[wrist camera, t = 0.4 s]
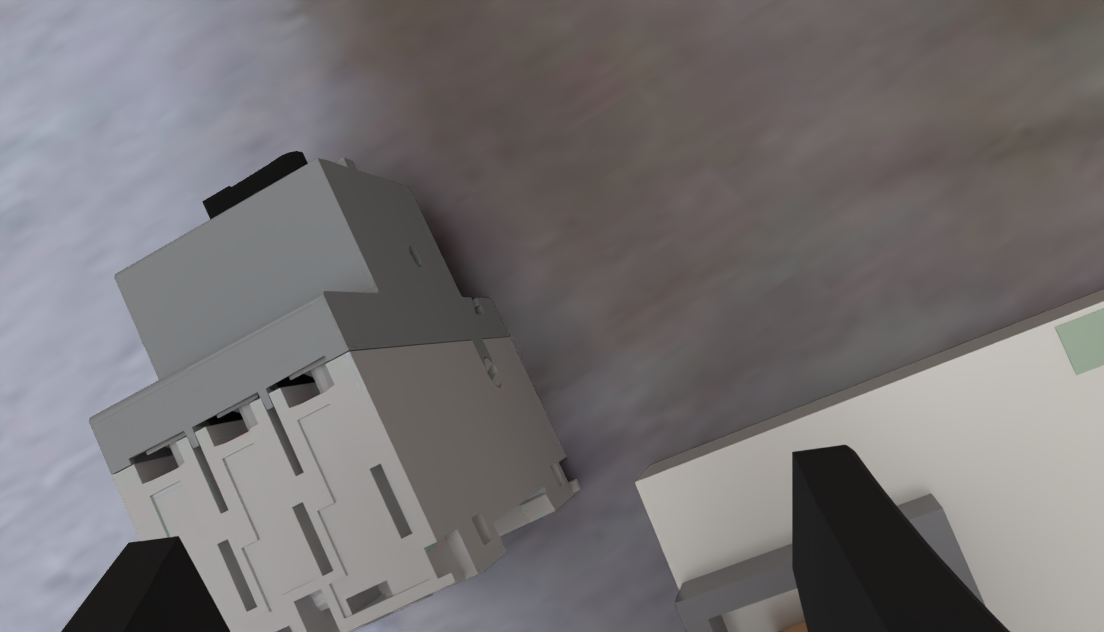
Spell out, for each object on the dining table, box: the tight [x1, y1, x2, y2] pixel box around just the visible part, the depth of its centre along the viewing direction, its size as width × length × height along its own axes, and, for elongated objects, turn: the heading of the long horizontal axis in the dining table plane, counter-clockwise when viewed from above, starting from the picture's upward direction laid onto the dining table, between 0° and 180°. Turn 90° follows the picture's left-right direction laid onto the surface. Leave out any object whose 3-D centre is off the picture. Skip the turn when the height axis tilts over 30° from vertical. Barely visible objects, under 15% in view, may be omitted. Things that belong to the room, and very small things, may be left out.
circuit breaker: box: [89, 151, 582, 632], centre depth 34 cm, size 8×14×15 cm, turn 27°
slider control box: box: [635, 289, 1104, 632], centre depth 33 cm, size 16×20×6 cm
